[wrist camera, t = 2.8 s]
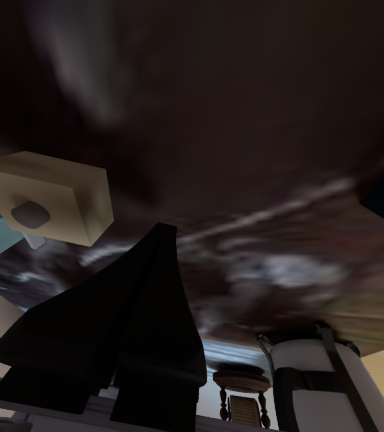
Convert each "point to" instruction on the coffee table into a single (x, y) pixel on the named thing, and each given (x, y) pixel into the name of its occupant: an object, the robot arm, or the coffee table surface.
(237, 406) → the dark round-based figurine
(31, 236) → the press frame
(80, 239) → the block
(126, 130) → the coffee table surface
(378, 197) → the watch
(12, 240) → the block
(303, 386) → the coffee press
